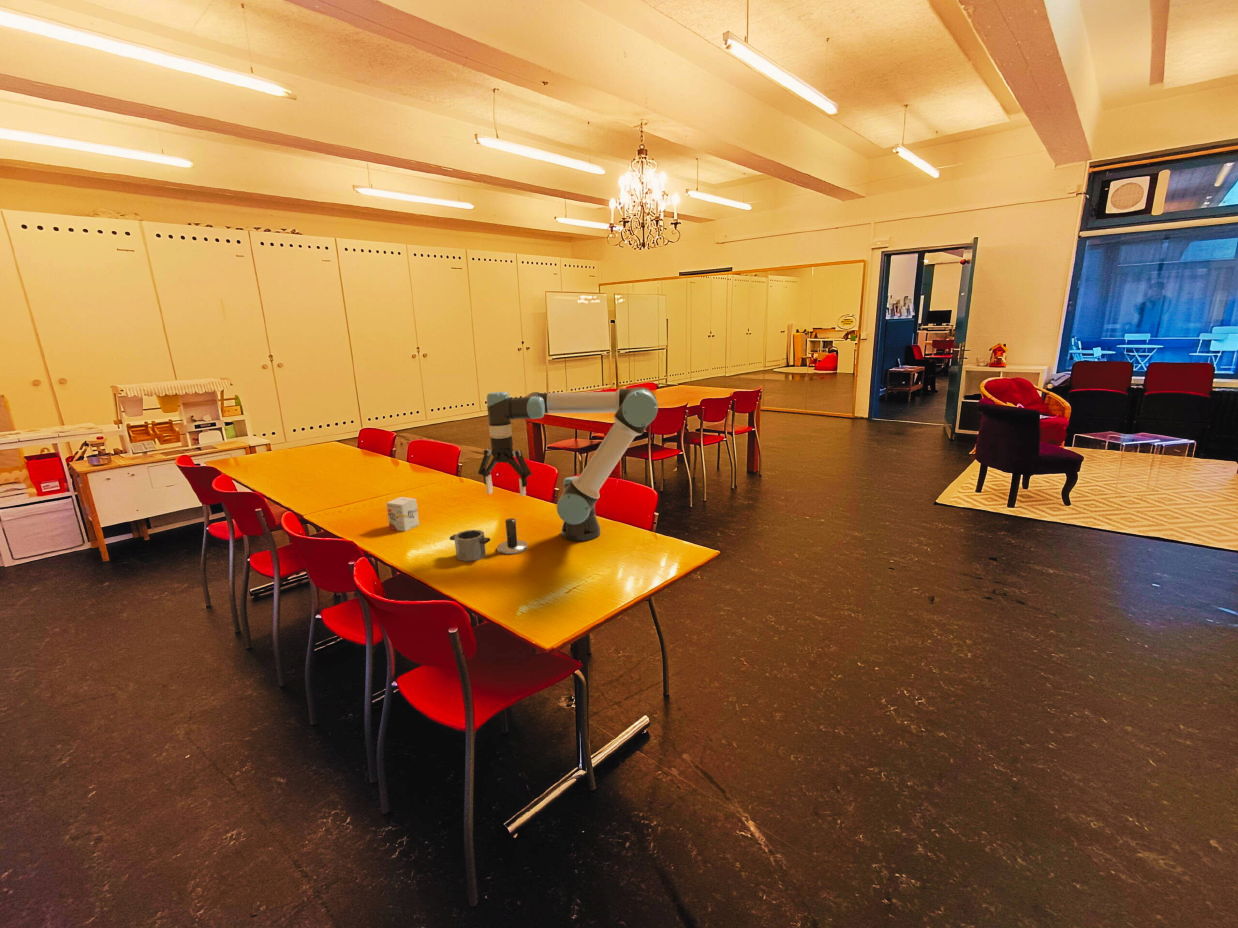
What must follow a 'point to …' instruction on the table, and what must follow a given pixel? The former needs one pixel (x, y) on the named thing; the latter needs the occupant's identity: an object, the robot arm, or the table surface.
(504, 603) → the table surface
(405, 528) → the ink box
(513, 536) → the lid
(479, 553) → the pot
